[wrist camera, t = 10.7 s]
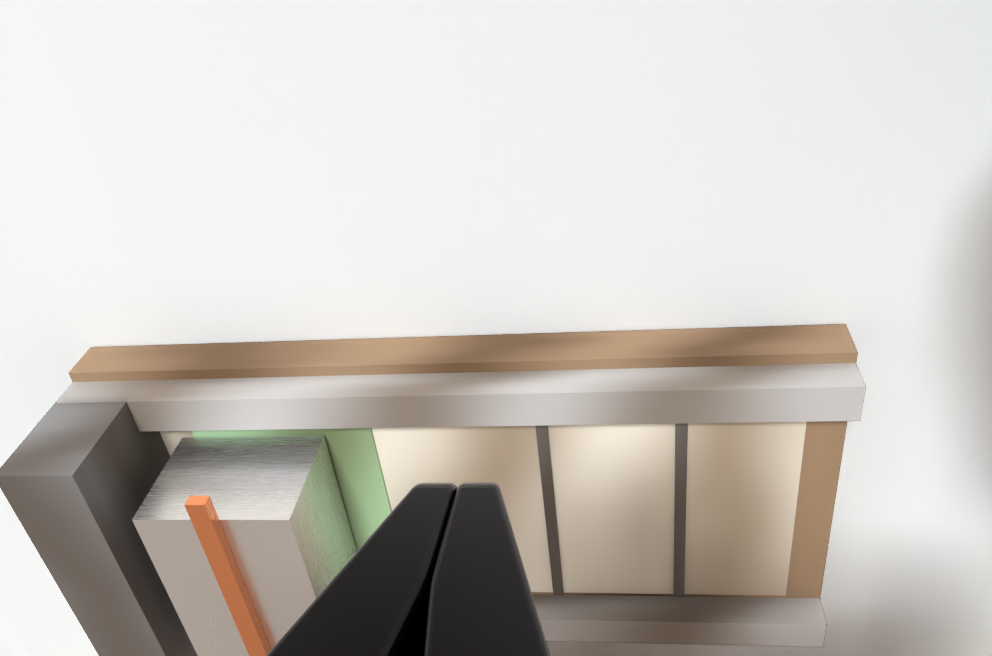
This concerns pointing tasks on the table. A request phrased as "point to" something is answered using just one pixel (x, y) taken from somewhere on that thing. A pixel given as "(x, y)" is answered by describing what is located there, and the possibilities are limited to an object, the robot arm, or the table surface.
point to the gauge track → (486, 466)
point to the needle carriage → (245, 536)
